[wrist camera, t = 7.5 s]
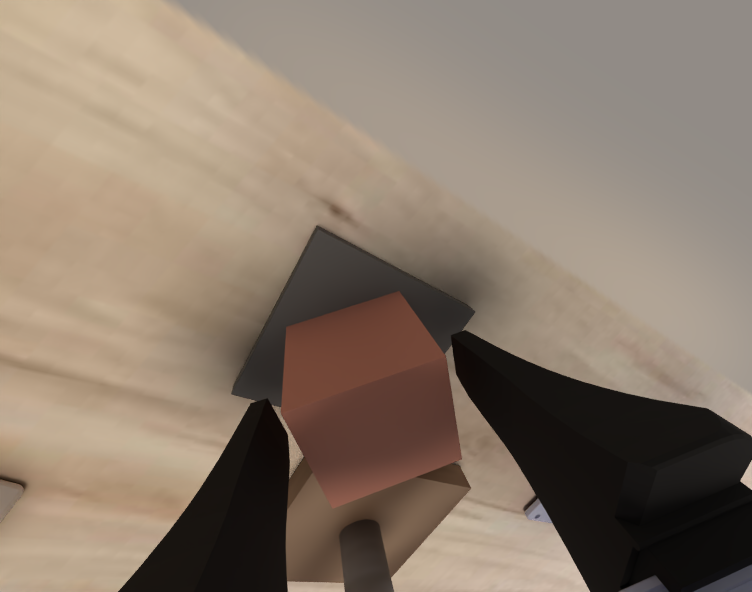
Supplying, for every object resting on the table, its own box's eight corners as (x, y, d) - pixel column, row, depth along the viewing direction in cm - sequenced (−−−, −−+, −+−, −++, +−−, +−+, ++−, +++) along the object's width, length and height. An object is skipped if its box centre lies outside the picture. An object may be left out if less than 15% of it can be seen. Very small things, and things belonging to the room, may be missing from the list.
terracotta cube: (399, 290, 13) (445, 356, 9) (417, 375, 15) (462, 459, 11) (286, 326, 12) (280, 413, 8) (322, 409, 15) (332, 508, 11)
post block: (459, 465, 20) (524, 593, 14) (380, 558, 23) (408, 697, 17) (320, 432, 16) (332, 590, 10) (243, 549, 19) (219, 727, 13)
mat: (469, 306, 15) (475, 312, 14) (382, 425, 17) (385, 434, 16) (316, 225, 12) (317, 229, 11) (233, 384, 14) (231, 394, 13)
